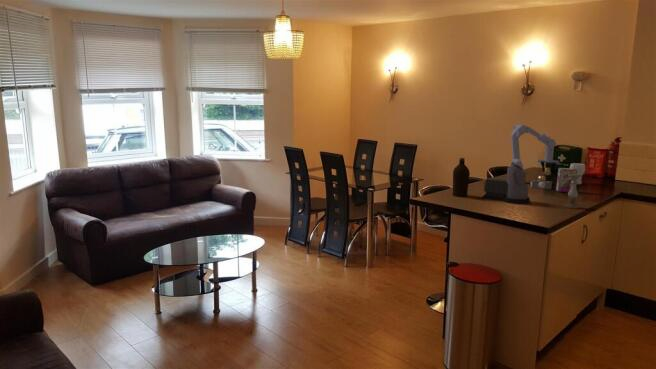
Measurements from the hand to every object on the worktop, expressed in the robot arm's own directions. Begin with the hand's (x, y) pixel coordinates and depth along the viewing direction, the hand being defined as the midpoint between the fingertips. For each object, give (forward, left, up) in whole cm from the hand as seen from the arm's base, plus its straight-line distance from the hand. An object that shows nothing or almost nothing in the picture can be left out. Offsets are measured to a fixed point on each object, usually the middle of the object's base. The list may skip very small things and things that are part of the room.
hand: (547, 172), depth 385 cm
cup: (+22, +7, -9) cm, 24 cm away
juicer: (-30, -77, -9) cm, 83 cm away
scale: (-5, -18, -8) cm, 20 cm away
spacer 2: (0, 0, -2) cm, 2 cm away
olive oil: (-59, -74, -9) cm, 95 cm away
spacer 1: (-5, -19, -5) cm, 20 cm away
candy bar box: (+10, -32, -9) cm, 34 cm away
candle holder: (+7, -83, -9) cm, 84 cm away
